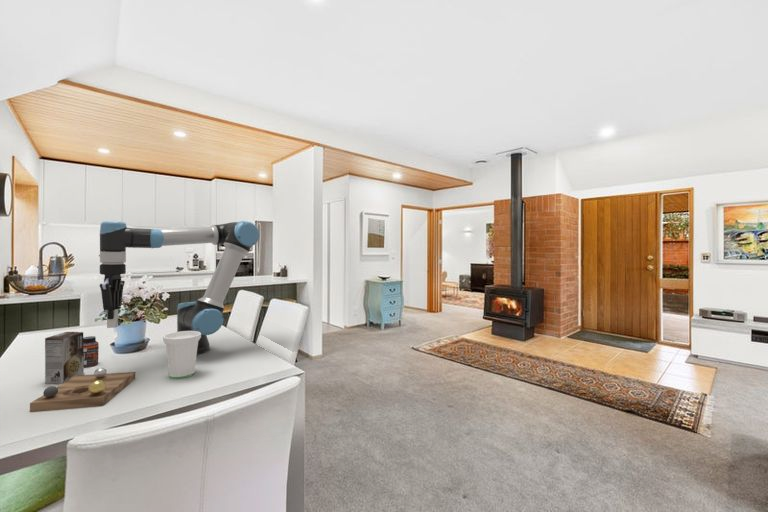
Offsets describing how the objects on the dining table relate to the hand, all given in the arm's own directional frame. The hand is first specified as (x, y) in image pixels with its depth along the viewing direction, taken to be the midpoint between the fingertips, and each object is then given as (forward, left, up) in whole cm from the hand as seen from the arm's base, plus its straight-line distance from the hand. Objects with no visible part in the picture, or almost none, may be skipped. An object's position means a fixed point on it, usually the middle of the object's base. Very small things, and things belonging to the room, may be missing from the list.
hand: (112, 327), depth 126 cm
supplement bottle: (+15, -16, -19) cm, 29 cm away
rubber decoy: (+6, +22, -14) cm, 27 cm away
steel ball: (0, +8, -14) cm, 16 cm away
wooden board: (0, +15, -18) cm, 24 cm away
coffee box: (+15, -1, -19) cm, 24 cm away
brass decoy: (-6, +23, -14) cm, 27 cm away
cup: (-24, +3, -19) cm, 31 cm away
